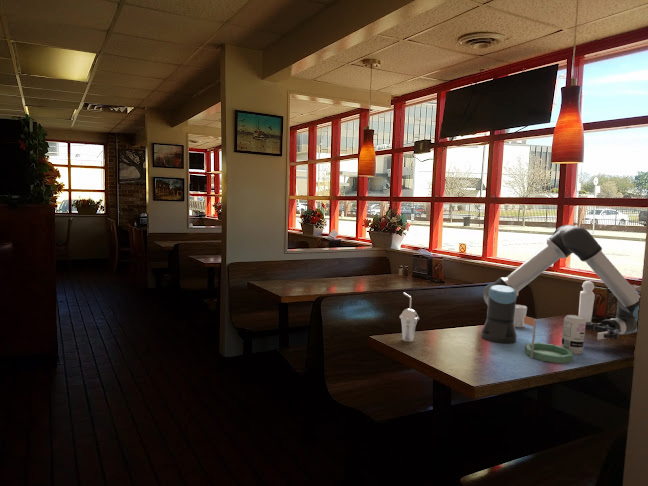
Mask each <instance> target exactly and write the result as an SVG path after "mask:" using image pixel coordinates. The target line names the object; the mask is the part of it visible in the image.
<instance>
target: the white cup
mask: <svg viewBox="0 0 648 486" xmlns="http://www.w3.org/2000/svg"><path fill="white" fill-rule="evenodd" d="M527 311H528V307H527V306H526V305H524V304H523V305H522V304H516V305H515V315H514V327H515V328H524V327H525V325H526V324H525V323H524V317H525V316H527V313H528V312H527Z"/></svg>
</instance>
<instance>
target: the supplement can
mask: <svg viewBox="0 0 648 486" xmlns="http://www.w3.org/2000/svg"><path fill="white" fill-rule="evenodd" d="M585 326H586V321H585V318H584V317H581V316H579V315H576V314H566V315H565V317H564V318H563V327H562V334H561V335H562V337H561V346H560V347H563V348H566V349H569V350H570V351H571V352H572V354H573V355H581V354H582V353H584V344H585V337H586V336H585V335H586V334H585V333H586V329H585Z"/></svg>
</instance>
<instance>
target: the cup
mask: <svg viewBox="0 0 648 486" xmlns="http://www.w3.org/2000/svg"><path fill="white" fill-rule="evenodd" d="M524 323H525V324H524V325H528V326H531V327H532V328H533V329H532V338H531V339H532V340H531V343H525V347H524V351H525V355H526V356H528V355H529V356H528V357H530V359H532V358H534V359H535V360H539V361H543V362H548V363H556V364H566V363H570V362H571V363H572V362H574V354H572V352H571V351H570V350H569V349H566V348H563V347H561V346H559V345H557V344H551V343H545V342H536V341H535V337H536V328H537V319H536V318H533V317H529V316H527V315H526V316H525V317H524Z"/></svg>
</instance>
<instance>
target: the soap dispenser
mask: <svg viewBox="0 0 648 486" xmlns="http://www.w3.org/2000/svg"><path fill="white" fill-rule="evenodd" d="M581 287H582V290H581V291H580V292H579V303H578V305H579V306H578V316H581V317H584V318H585V321H586V322H592V318H593V310H594V305H595V304H594V303H595V298H596V295H595V293H594V292H593V290H594V289H595V284H594V283H593V281H591V280H585V281H584V282H583V283H582V285H581Z"/></svg>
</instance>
